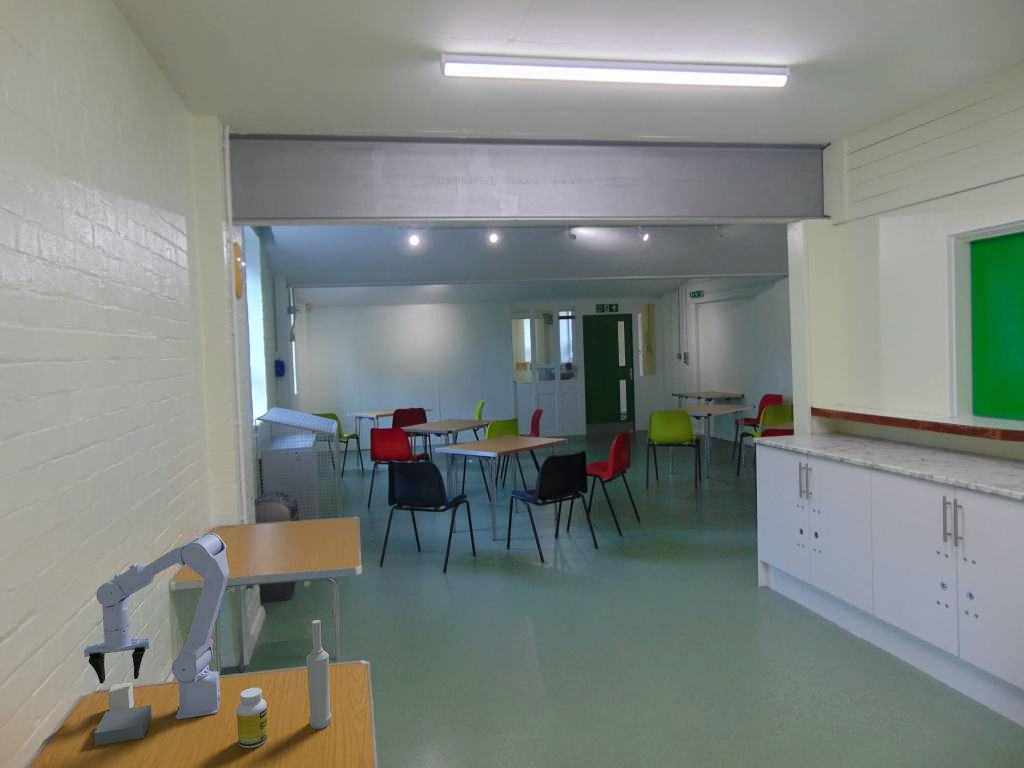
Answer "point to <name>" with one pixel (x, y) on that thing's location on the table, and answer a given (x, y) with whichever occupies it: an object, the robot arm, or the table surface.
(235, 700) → the table surface
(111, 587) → the robot arm
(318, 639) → the bottle
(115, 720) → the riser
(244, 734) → the pill bottle
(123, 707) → the cream block
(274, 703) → the table surface
